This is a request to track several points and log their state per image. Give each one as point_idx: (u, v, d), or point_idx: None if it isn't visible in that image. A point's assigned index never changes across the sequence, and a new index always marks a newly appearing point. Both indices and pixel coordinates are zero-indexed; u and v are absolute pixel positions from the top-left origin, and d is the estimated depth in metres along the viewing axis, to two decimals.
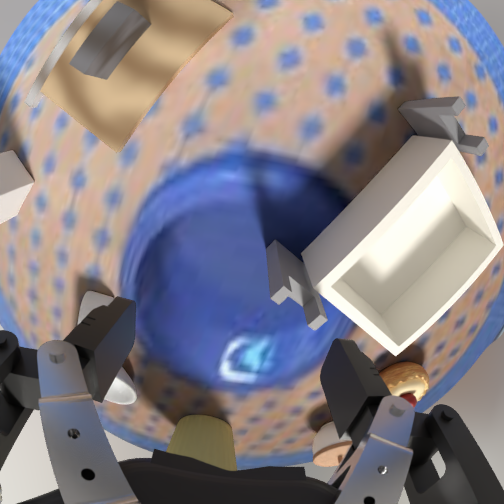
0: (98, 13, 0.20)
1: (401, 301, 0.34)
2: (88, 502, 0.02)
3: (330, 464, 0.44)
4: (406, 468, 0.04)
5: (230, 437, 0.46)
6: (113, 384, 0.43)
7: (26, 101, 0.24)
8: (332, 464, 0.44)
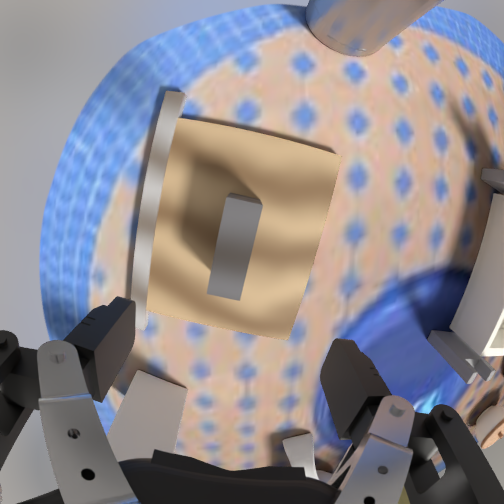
0: (171, 199, 0.26)
1: None
2: (88, 502, 0.02)
3: (493, 442, 0.34)
4: (406, 468, 0.04)
5: None
6: None
7: None
8: (494, 441, 0.34)
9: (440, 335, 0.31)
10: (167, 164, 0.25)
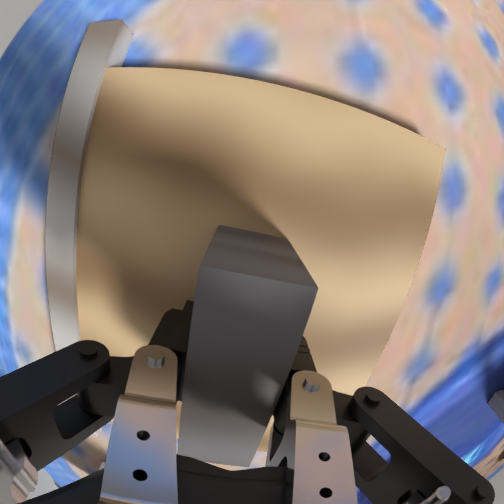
0: (96, 242, 0.11)
1: None
2: (126, 498, 0.03)
3: None
4: (346, 446, 0.05)
5: None
6: None
7: None
8: None
9: None
10: (83, 166, 0.10)
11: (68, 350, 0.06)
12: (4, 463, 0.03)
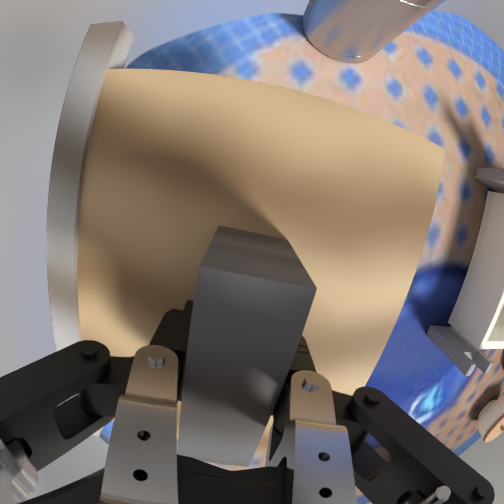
0: (97, 242, 0.11)
1: None
2: (126, 499, 0.03)
3: (496, 435, 0.35)
4: (346, 446, 0.05)
5: None
6: None
7: None
8: (497, 435, 0.35)
9: (439, 330, 0.32)
10: (84, 167, 0.10)
11: (69, 350, 0.06)
12: (4, 463, 0.03)
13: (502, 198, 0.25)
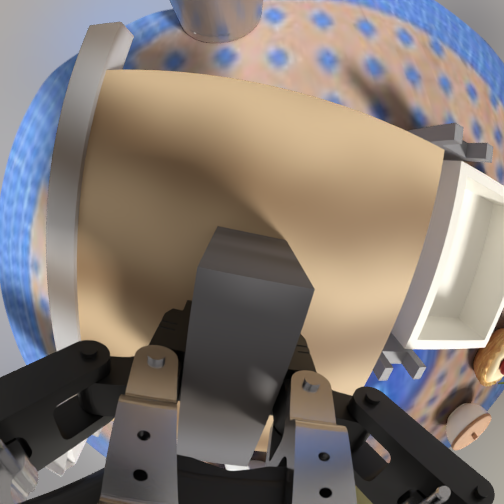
0: (96, 243, 0.11)
1: (470, 299, 0.31)
2: (126, 499, 0.03)
3: (467, 443, 0.35)
4: (346, 446, 0.05)
5: None
6: None
7: None
8: (469, 442, 0.35)
9: None
10: (83, 168, 0.10)
11: (69, 350, 0.06)
12: (4, 463, 0.03)
13: None
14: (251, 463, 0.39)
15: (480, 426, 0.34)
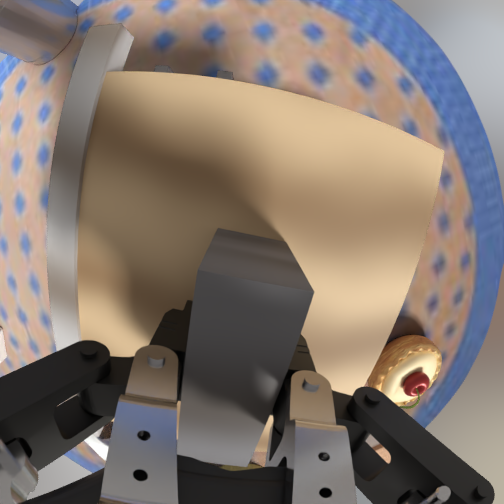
0: (97, 244, 0.11)
1: None
2: (126, 498, 0.03)
3: None
4: (346, 446, 0.05)
5: None
6: None
7: None
8: None
9: None
10: (84, 170, 0.10)
11: (68, 350, 0.06)
12: (4, 463, 0.03)
13: None
14: None
15: (388, 454, 0.33)
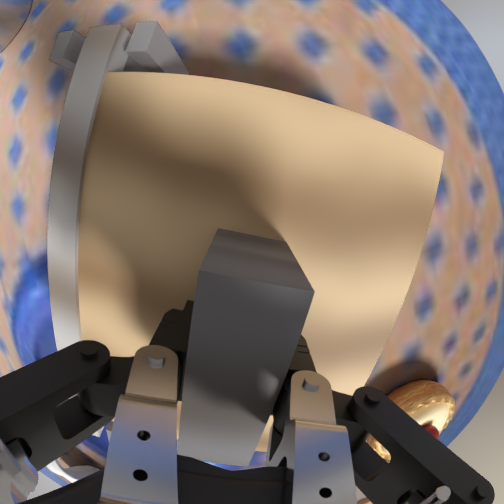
0: (97, 244, 0.11)
1: None
2: (126, 498, 0.03)
3: None
4: (346, 446, 0.05)
5: None
6: None
7: None
8: None
9: None
10: (84, 170, 0.10)
11: (68, 350, 0.06)
12: (4, 463, 0.03)
13: None
14: (85, 469, 0.29)
15: None
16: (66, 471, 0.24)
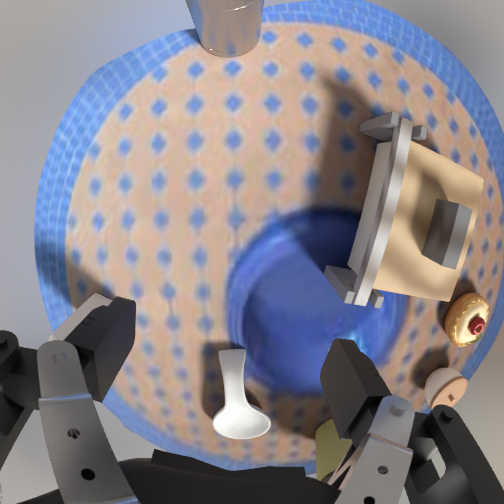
0: (404, 200, 0.32)
1: None
2: (88, 502, 0.02)
3: None
4: (406, 468, 0.04)
5: None
6: (245, 423, 0.52)
7: (357, 302, 0.35)
8: None
9: (333, 268, 0.43)
10: (404, 173, 0.31)
11: None
12: None
13: (386, 146, 0.36)
14: None
15: (456, 389, 0.45)
16: None
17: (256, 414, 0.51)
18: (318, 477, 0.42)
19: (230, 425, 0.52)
